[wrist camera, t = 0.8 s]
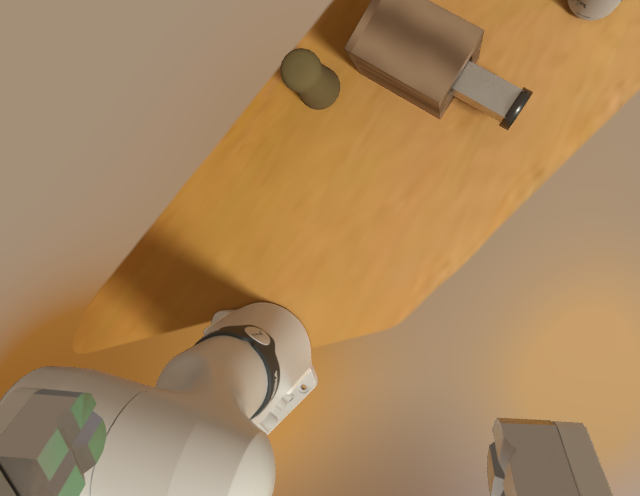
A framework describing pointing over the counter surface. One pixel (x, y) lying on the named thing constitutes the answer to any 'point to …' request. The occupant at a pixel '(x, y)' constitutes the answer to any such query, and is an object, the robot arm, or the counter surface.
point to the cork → (310, 79)
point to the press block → (414, 50)
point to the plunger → (490, 94)
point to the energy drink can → (592, 8)
